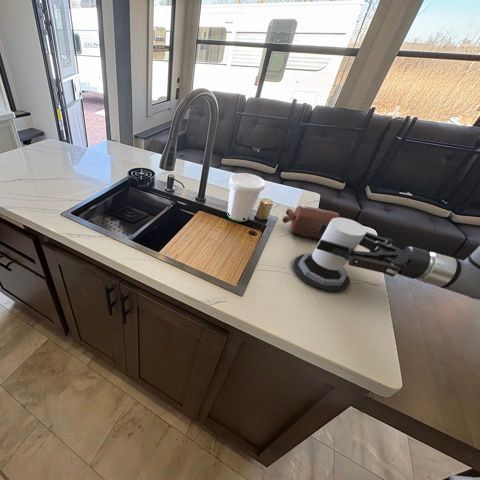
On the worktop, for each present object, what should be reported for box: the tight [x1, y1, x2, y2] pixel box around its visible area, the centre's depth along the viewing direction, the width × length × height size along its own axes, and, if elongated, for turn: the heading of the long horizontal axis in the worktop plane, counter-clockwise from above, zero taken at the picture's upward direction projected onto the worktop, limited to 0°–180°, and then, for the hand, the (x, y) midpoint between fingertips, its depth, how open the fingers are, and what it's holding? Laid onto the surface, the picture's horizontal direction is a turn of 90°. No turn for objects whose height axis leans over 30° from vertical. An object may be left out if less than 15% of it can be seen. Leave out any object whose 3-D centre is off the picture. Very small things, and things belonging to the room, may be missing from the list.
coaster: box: [292, 252, 351, 294], centre depth 76 cm, size 15×15×3 cm
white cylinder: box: [312, 217, 367, 270], centre depth 69 cm, size 8×8×12 cm
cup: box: [226, 172, 267, 223], centre depth 96 cm, size 12×12×15 cm
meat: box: [281, 205, 341, 240], centre depth 89 cm, size 20×12×10 cm, turn 70°
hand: (319, 235), depth 71 cm, fingers closed on white cylinder, 8 cm apart
